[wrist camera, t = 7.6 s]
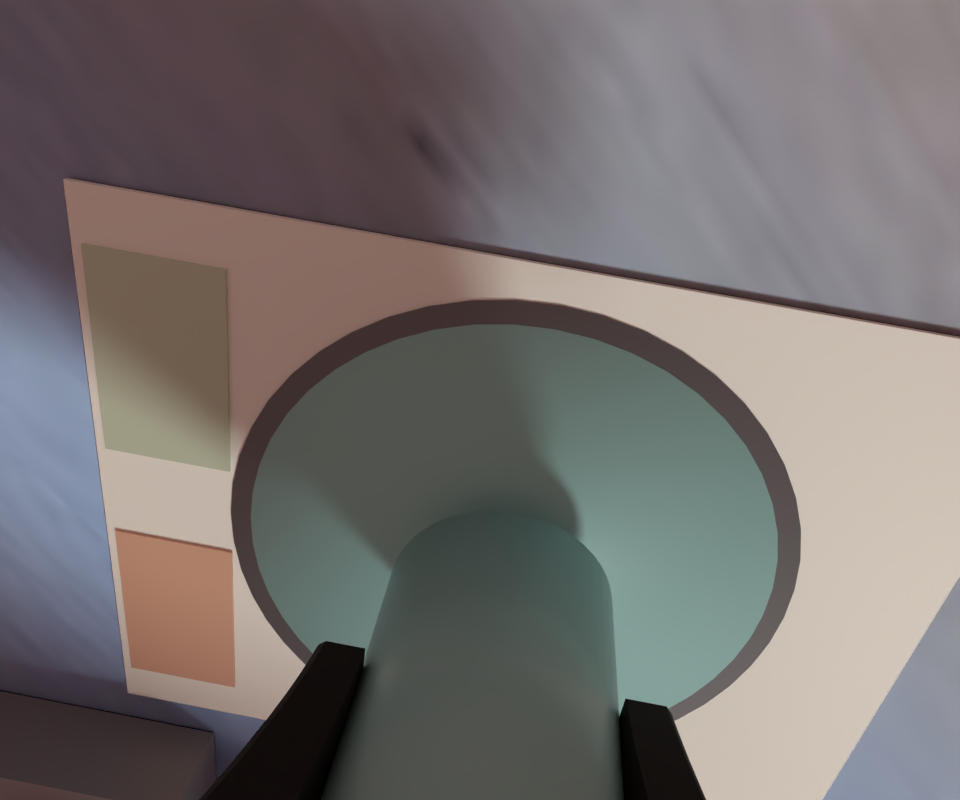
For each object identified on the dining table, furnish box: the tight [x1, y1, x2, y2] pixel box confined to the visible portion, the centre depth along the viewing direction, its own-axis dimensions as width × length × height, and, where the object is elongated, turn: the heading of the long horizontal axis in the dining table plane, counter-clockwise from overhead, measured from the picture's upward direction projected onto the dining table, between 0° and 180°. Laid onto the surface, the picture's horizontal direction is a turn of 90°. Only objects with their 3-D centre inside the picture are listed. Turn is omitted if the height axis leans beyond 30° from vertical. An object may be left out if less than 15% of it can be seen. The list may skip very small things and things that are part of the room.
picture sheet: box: [63, 178, 960, 800], centre depth 14 cm, size 12×16×1 cm
